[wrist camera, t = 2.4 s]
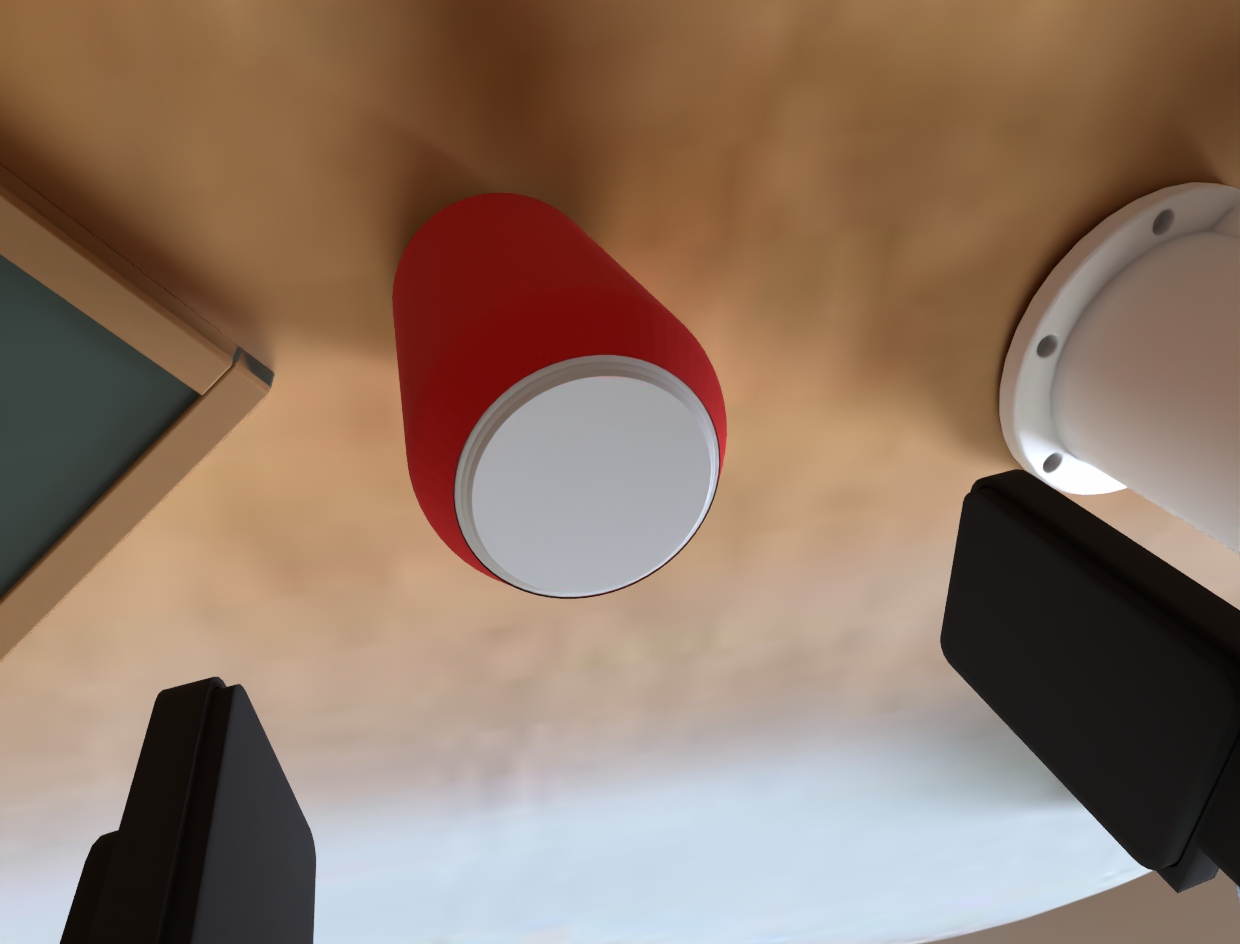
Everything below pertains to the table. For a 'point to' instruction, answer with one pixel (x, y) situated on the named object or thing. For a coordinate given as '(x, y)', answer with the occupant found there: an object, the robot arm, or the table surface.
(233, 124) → the table surface
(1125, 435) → the robot arm
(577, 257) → the beverage can
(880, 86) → the table surface
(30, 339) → the chalkboard
